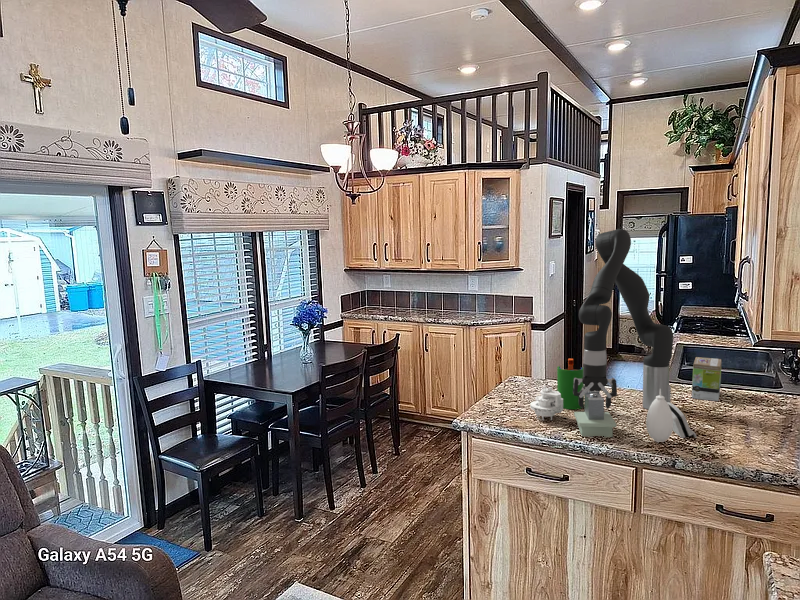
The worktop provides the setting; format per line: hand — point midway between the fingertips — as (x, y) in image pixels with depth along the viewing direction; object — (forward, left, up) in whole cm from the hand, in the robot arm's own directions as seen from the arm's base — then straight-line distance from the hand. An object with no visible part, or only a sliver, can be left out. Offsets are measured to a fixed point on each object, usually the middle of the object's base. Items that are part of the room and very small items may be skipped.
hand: (594, 407), depth 187 cm
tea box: (-53, -46, -9) cm, 71 cm away
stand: (0, 0, -9) cm, 9 cm away
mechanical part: (+15, -13, -9) cm, 22 cm away
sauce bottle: (-19, +8, -9) cm, 22 cm away
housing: (0, -2, -4) cm, 4 cm away
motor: (+4, -28, -9) cm, 30 cm away
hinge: (-28, -4, -9) cm, 29 cm away
